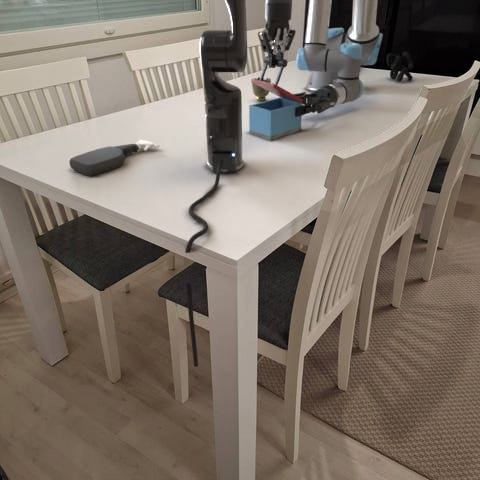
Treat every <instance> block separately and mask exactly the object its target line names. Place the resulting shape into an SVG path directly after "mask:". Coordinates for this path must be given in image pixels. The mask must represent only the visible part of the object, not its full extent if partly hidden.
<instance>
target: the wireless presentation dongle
mask: <svg viewBox="0 0 480 480" xmlns="http://www.w3.org/2000/svg"><path fill="white" fill-rule="evenodd" d="M159 148H160V145H159V144H158V143H155V142H151V141H148V140H144V139H139V140H138V141H137V142H135V143H129V144H128V143H126V144H122V145H113V146H105V147H100V148H97V149H94V150H90V151H87V152H83V153H81V154H78V155H74V156H73V157H70V159H69V161H68V162H69V167H70V168H71V169H72V170H74V171H75V172H78V173H81V174H83V175H85V176H89V177H90V176H91V177H92V176H95V175H99V174H102V173H105V172H107V171H110V170H113V169H116V168H118V167H120V166H122V165H123V164H124V163H125V158H126V156H127V155H131V154H133V153H138V151H140V150H143V151H144V152H146V151H147V150H149V149H159Z"/></svg>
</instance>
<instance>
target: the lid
mask: <svg viewBox="0 0 480 480" xmlns="http://www.w3.org/2000/svg"><path fill="white" fill-rule="evenodd" d="M263 62H264V66H263V68H262V71H261V74H260V77H259V78H260V80H255V78H251V79H250V82H251V84H252V83H254V84H256V85H258V86H260V87H262V88H264V89H266V90H267V91H269V93H271V94H273V95H275V96H277V97H278V98H280V97H281V98H286V99H289V100H293V101H297V102H301V103H302V101H303V100H302V99H301V98H299V97H297V96H295V95H293V94H294V93H293V92H292V93H291V92H290V91H288V90H286V89H285V88H283V87H281V86H279V82H280V79H281V77H282V74H283V71H284V69H285V68H286V67H288V60H287V59H284V58H283V59H280V58H276V66H279V67H278V68H279V71H278V74H277V76H276V79H275V81H274V83H272V82H271V83H268V82H264V81H262V80H263V78H264V77H265V74H266V72H267V69H268V67H269V65H268V55H267V56H265V57H264V59H263Z"/></svg>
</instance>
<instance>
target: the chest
mask: <svg viewBox="0 0 480 480" xmlns="http://www.w3.org/2000/svg"><path fill="white" fill-rule="evenodd" d="M300 106H303V104H302V103H300V102H296V101H292V100H289V99H285V98H282V97H276V98H273V99H269V100H264V101H260V102H257V103H255V104H254V103H253V104H250V105H249V106H248V111H249V112H248V114H249V115H248V119H249V120H248V122H249V125H248V126H249V129H248V133H249V134H250V135H253V136H256V137H259V138H262V139H265V140H267V141H274V140H276V139H280V138H282V137H286V136H289V135H291V134H292V135H293V134H294V133H297V132H300V131H302V116H303V115H301V116H298V117H295V108H296V107H300Z"/></svg>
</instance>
